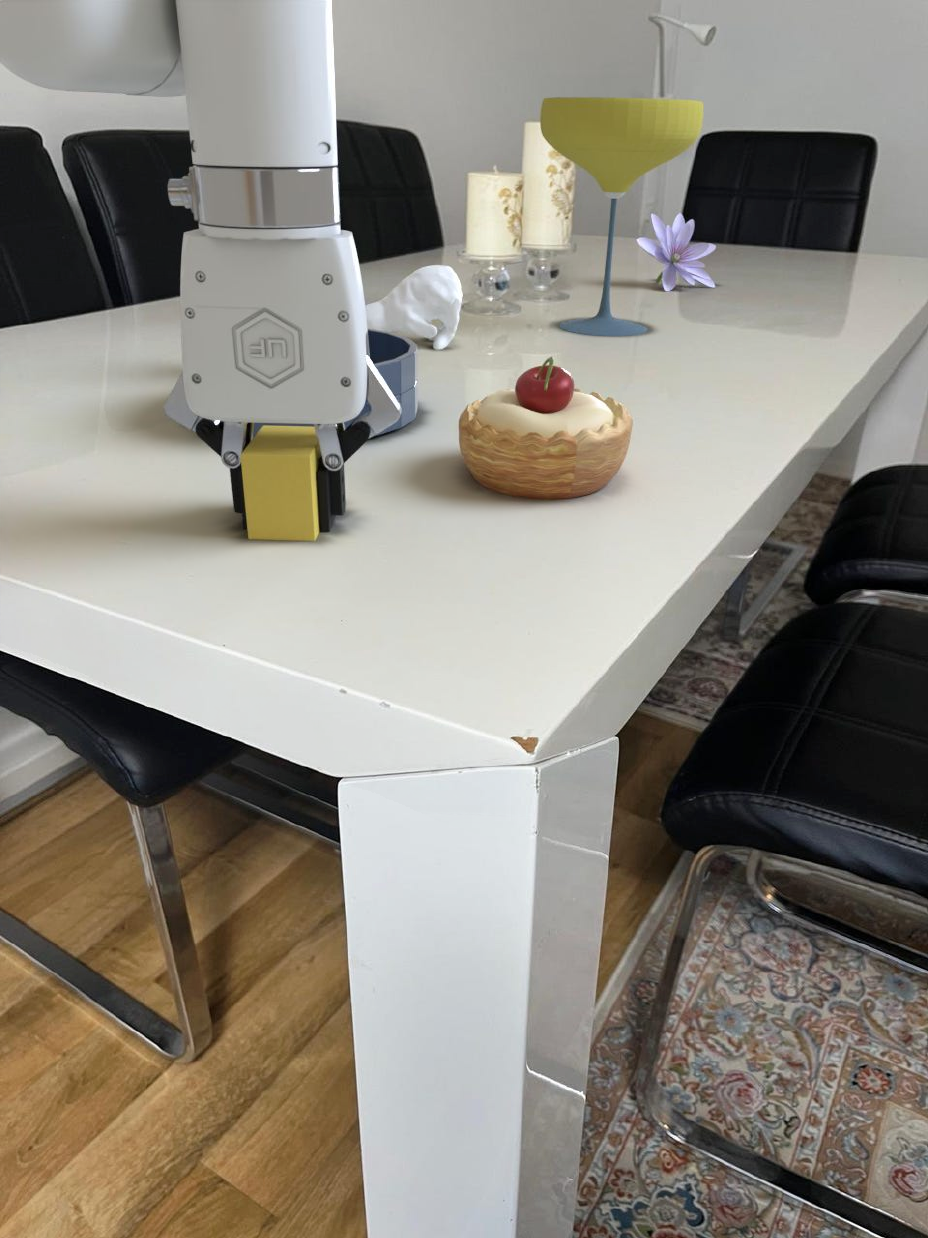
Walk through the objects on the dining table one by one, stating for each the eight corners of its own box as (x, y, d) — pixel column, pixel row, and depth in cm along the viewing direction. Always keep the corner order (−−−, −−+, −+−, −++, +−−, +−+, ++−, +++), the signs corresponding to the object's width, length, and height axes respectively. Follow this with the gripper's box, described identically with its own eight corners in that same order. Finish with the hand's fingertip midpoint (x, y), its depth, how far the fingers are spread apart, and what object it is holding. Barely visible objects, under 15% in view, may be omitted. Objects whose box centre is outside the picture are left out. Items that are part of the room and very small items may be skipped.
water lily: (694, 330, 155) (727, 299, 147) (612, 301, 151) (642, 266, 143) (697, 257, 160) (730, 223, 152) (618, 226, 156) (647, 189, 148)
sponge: (248, 543, 57) (240, 454, 55) (269, 508, 62) (262, 424, 60) (315, 545, 57) (310, 456, 55) (331, 509, 62) (326, 426, 60)
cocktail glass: (682, 347, 110) (713, 99, 98) (525, 340, 112) (537, 95, 100) (671, 319, 126) (696, 103, 114) (534, 313, 128) (545, 99, 116)
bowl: (169, 447, 73) (159, 368, 70) (228, 388, 89) (222, 322, 87) (407, 454, 73) (407, 374, 70) (423, 394, 89) (423, 327, 86)
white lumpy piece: (463, 267, 102) (350, 278, 101) (469, 349, 106) (360, 360, 105) (455, 259, 107) (348, 270, 106) (461, 337, 111) (358, 348, 110)
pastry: (602, 452, 74) (613, 334, 70) (646, 506, 64) (662, 371, 60) (448, 455, 73) (449, 334, 69) (467, 511, 62) (470, 373, 58)
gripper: (87, 206, 48) (138, 544, 57) (420, 212, 48) (421, 552, 56) (137, 196, 55) (176, 500, 63) (429, 202, 54) (429, 506, 63)
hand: (291, 521), depth 60 cm, fingers closed on sponge, 3 cm apart
